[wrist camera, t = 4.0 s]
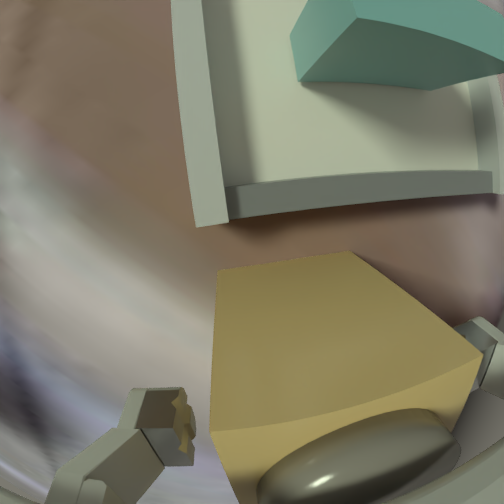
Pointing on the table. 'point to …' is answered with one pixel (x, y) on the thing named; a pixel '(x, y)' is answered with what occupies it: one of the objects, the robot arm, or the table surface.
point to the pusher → (398, 42)
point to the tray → (315, 123)
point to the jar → (332, 384)
